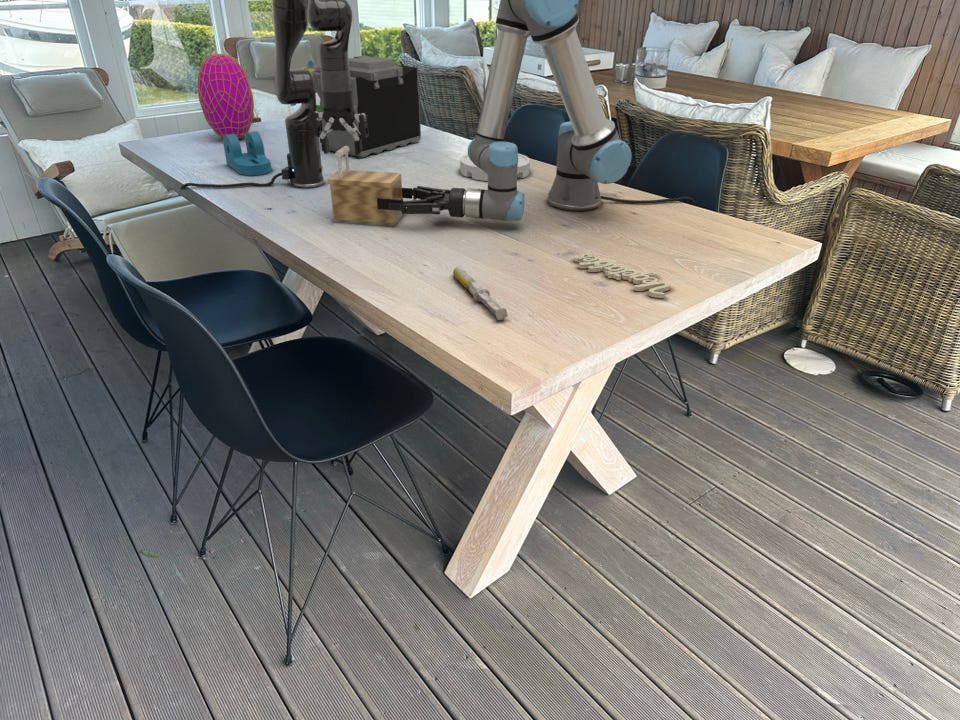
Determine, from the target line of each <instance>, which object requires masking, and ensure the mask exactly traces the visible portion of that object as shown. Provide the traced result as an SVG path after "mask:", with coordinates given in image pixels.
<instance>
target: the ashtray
mask: <svg viewBox="0 0 960 720" xmlns="http://www.w3.org/2000/svg"><path fill="white" fill-rule="evenodd" d="M459 171H460V175H462V176H463V177H466V178H471V179H472V180H475V181H482V182H488V174H486V173H485V172H484V171H483V170H482V169H480V168H479V167H476V166H475V165H474V164H473V162H472V161H471V160H470V158H469V156H468V153H467V154H464V155H462V156H461V157H460V159H459ZM530 172H531V159H530V158H529V156H527V155H525V154H522V153H518V168H517V179H523V178H524V179H525V178H526V177H528V176H530Z"/></svg>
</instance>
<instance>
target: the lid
mask: <svg viewBox="0 0 960 720" xmlns="http://www.w3.org/2000/svg"><path fill="white" fill-rule="evenodd" d="M349 150H350V149H349V147H348V146H344V147H343V148H341V149H340V150H338V151H337V152H335V153H334V156H335V157H336V158H337V167H338V170H337V171H336V172H335V173H334V174H331V176H330V177H328V178H327V185H330V184H334V185H350V186H366V187H383V188H392V187H393V186H394V185H395V184H396V183H397V182H398V181H399V180H400V179H401V180H402V172H389V171H388V172H387V171H372V170H371V171H370V170H356V169H355V170H353V169H350V161H349V155H348V152H349ZM343 156H344V161H345V169H343V165H342V163H343V162H342V157H343Z"/></svg>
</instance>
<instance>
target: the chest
mask: <svg viewBox="0 0 960 720" xmlns="http://www.w3.org/2000/svg"><path fill="white" fill-rule="evenodd" d="M329 188H330V189H329V190H330V198H331V208H332V219H333V223H338V224H350V225H351V224H353V225H365V226H383V227H395V226H396V224H397V223H398V222H399V221H400V220H401V219H402V217H403V216H404V214H402V211H398V210H383V209H378V208H377V198H383V199H399V200H401V199H403V198H402V188H403V183H402V178H401V179H400V180H399V181H398V182H397V183H396V184H395V185H394V186H393V187H392V188H383V187H366V186H350V185H334V184H329Z"/></svg>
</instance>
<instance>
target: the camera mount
mask: <svg viewBox="0 0 960 720" xmlns="http://www.w3.org/2000/svg"><path fill="white" fill-rule="evenodd" d="M244 137H245V146H246V152H243V151H242V150H243V149H242V146H241V142H240V140H239V139H238V138H237V136H236V135H235V134H230V135H224V137H223V138H222V140H223V141H222V143H223V149H224V150H223V151H224V156H225V161H226V165H227V166H228V167H230V168H231V169H232V170H234V171H236V172H237V173H238V174H239V175H244V176H260V175H265V174H268V173H271V172H272V164H271V159H270V158H268V157H267V156H266V153H265V145H264V141H263V139H262V136H261V134H260V132H258V131H248V132H247V133H246V135H245V136H244Z"/></svg>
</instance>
